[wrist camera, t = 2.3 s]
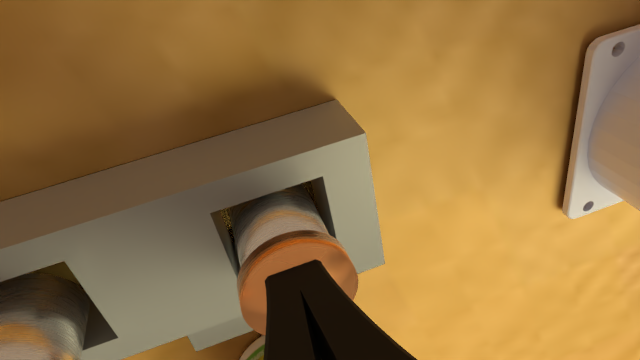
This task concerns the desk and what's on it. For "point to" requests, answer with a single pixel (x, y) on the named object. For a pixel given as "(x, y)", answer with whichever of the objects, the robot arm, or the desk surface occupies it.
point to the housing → (188, 227)
